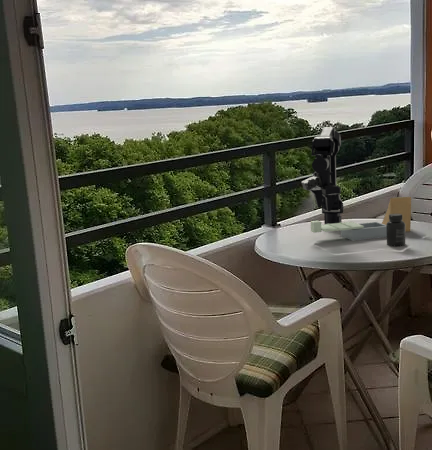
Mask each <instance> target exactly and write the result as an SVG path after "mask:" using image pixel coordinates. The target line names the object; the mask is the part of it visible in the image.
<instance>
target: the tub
mask: <svg viewBox="0 0 432 450" xmlns="http://www.w3.org/2000/svg"><path fill="white" fill-rule="evenodd" d="M359 224H360V225H362V226H364V228H359V229H350V230H340V237H342V238H345V239H347V240H350V241H352V242H353V241H361V240H371V239H379V238H381V239H382V238H387V235H386V225H384V224H382V222H378V221H371V222H362V223H359ZM367 227H371V228H367Z"/></svg>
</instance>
